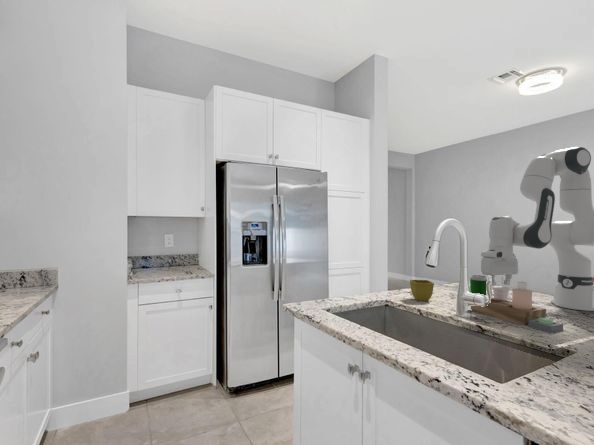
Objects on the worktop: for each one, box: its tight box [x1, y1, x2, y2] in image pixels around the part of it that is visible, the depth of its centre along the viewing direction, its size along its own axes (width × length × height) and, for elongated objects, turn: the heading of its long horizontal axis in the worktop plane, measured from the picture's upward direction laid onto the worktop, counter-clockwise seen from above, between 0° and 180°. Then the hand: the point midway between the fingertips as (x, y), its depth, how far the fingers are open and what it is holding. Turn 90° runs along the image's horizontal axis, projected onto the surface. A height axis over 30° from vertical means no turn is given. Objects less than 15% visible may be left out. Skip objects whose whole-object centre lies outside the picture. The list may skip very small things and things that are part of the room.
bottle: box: [511, 281, 533, 311], centre depth 121 cm, size 6×6×14 cm
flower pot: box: [409, 279, 435, 302], centre depth 157 cm, size 9×9×9 cm
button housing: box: [527, 319, 564, 333], centre depth 111 cm, size 7×7×3 cm
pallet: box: [471, 297, 547, 326], centre depth 127 cm, size 13×22×6 cm, turn 25°
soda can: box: [469, 274, 488, 295], centre depth 157 cm, size 8×8×12 cm
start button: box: [538, 317, 554, 325], centre depth 111 cm, size 4×4×4 cm
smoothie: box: [491, 276, 510, 301], centre depth 140 cm, size 6×6×14 cm
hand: (499, 285), depth 140 cm, fingers open, 8 cm apart
